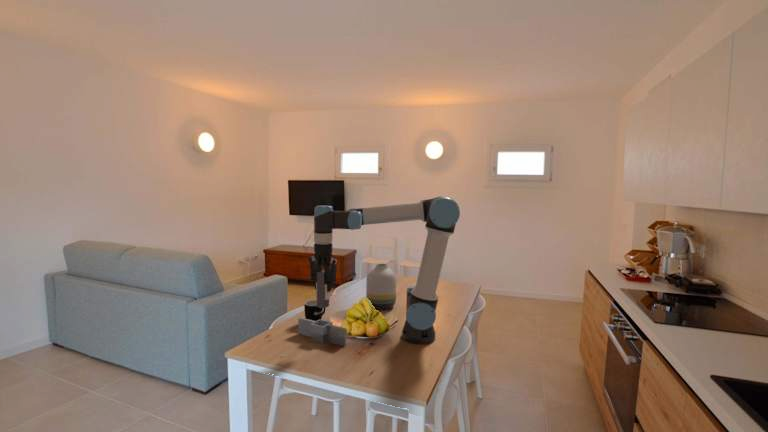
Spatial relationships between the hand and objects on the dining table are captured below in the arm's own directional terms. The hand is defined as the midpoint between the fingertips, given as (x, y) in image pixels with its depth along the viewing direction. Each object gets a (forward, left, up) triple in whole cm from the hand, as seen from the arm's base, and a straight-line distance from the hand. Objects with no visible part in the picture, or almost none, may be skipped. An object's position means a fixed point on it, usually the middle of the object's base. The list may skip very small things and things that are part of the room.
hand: (323, 298), depth 150 cm
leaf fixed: (-1, -4, -21) cm, 21 cm away
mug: (+19, -19, -21) cm, 34 cm away
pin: (0, 0, -4) cm, 4 cm away
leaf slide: (+9, -5, -20) cm, 23 cm away
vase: (+2, -56, -21) cm, 60 cm away
